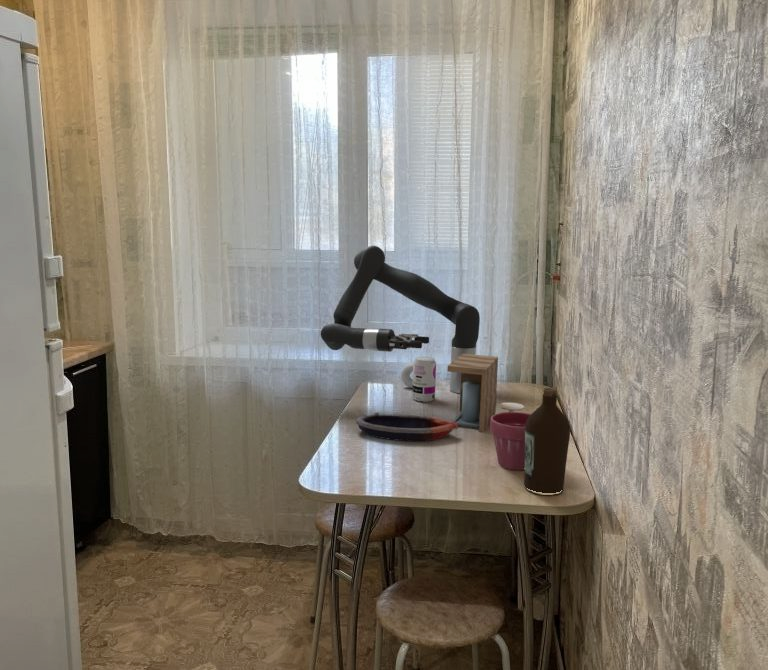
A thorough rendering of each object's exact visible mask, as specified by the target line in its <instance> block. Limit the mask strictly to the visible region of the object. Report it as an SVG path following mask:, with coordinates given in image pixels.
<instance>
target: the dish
mask: <svg viewBox="0 0 768 670" xmlns="http://www.w3.org/2000/svg"><path fill="white" fill-rule="evenodd" d="M355 422H356V424H357V426H358V428H359V430H360V431H361V432H362V433H364V434H365V435H370V436H372V435H373V436H374V437H376V436H377V438H380V437H382V439H386V438H389V439H388V440H394V439H398V440H397V441H407V440H413V441H414V442H415V441H416V442H422V441H423V442H425V441H426V440H428V441H432V440H433V441H434V440H438V439H444V438H446V437H447V436H448V435H449V434H451V433H452V432H453V430H454V429H455V430H457V429H458V424H457V423H454V422H452V421H449V420H448V419H447V420H446V419H443V418H442V419H441V418H438V417H431V416H424V415H412V414H394V413H393V414H389V413H388V414H385V413H383V414H382V413H379V412H374V414H373V413H372V414H368V415H364V416H363V415H362V416H359V417H358V418H357V419H356V421H355ZM413 441H412V442H413Z"/></svg>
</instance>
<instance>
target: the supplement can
mask: <svg viewBox="0 0 768 670" xmlns="http://www.w3.org/2000/svg"><path fill="white" fill-rule="evenodd" d="M412 363H413V372H412V379H413V388H411V389H412V393H411V397H412V399H413V400H414V399H415V400H414V401H416V400H417V401H416V402H419V401H423V402H422V403H428V401H430V402H432V401H434V400H435V399H436V382H437V381H436V379H437V377H436V376H437V375H436V374H437V361H436V359H435V358H434V357H431V356H430V357H429V356H417V357H415V358H414V361H413V362H412Z"/></svg>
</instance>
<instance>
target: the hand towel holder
mask: <svg viewBox="0 0 768 670" xmlns="http://www.w3.org/2000/svg"><path fill="white" fill-rule="evenodd" d="M499 406H500V408H501V409H502V410H506V411H508V412H518V411H521V410H523V409H524V408H525V406H524V405H523V404H521V403H518V402H502V403H500V404H499Z"/></svg>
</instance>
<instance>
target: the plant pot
mask: <svg viewBox="0 0 768 670" xmlns="http://www.w3.org/2000/svg"><path fill="white" fill-rule="evenodd" d="M531 414H532V413H527V412H521V411H514V412H509V411H505V412H497V413H495V415H493V416H492V417H491V420H490V423H489V425H490V426H489V428H490V429H489V430H490V433H491V434H492V435H493V438H494V439H493V440H494V441H493V442H494V446H495V447H494V448H495V452H496V457H497V462H498V465H499V466H500V467H501V466H502V467H501V468H504V467H505V468H504V469H506V468H509V469H508V470H511V469H524V468H525V425H526V422H527V419H528V417H529V416H530V415H531Z"/></svg>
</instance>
